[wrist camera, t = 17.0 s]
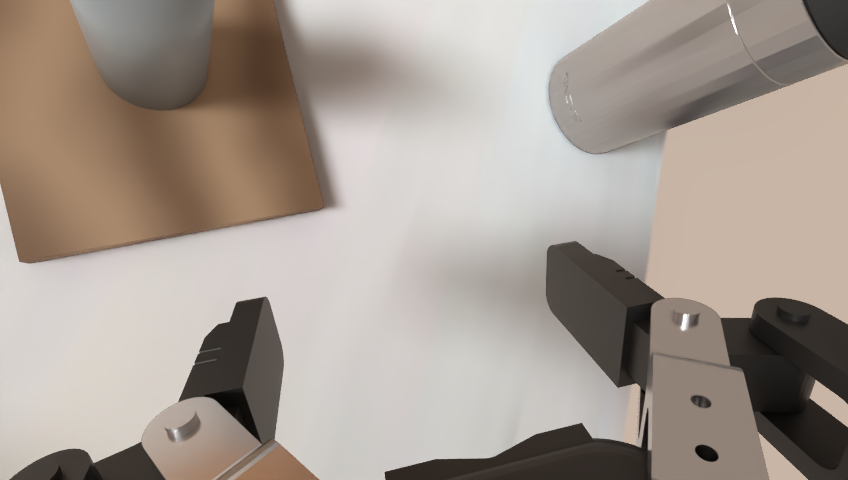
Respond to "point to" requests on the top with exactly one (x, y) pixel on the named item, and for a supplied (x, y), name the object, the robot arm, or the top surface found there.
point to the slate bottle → (149, 48)
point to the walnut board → (145, 138)
